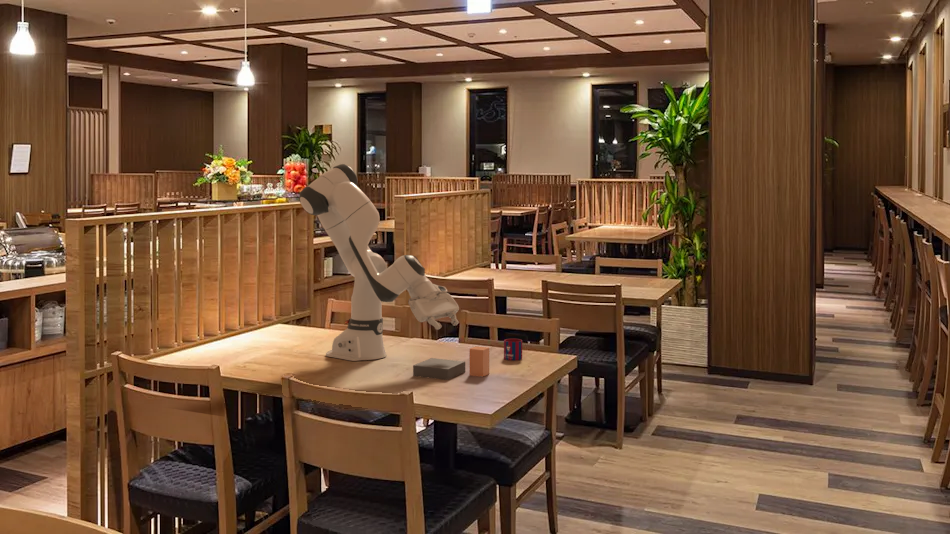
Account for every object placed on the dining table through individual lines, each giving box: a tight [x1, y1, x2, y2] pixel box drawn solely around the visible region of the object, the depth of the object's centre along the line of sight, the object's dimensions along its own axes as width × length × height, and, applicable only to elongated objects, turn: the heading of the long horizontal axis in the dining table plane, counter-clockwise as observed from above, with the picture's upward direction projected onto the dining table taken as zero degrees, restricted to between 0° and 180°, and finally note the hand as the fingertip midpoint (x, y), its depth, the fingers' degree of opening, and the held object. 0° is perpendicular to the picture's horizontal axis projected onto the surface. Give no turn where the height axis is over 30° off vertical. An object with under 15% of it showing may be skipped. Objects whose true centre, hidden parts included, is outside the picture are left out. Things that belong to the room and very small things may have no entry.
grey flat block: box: [412, 357, 466, 381], centre depth 292 cm, size 13×13×4 cm
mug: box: [503, 338, 523, 362], centre depth 318 cm, size 7×10×7 cm
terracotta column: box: [468, 346, 490, 378], centre depth 291 cm, size 5×5×9 cm
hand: (448, 326), depth 296 cm, fingers open, 8 cm apart
